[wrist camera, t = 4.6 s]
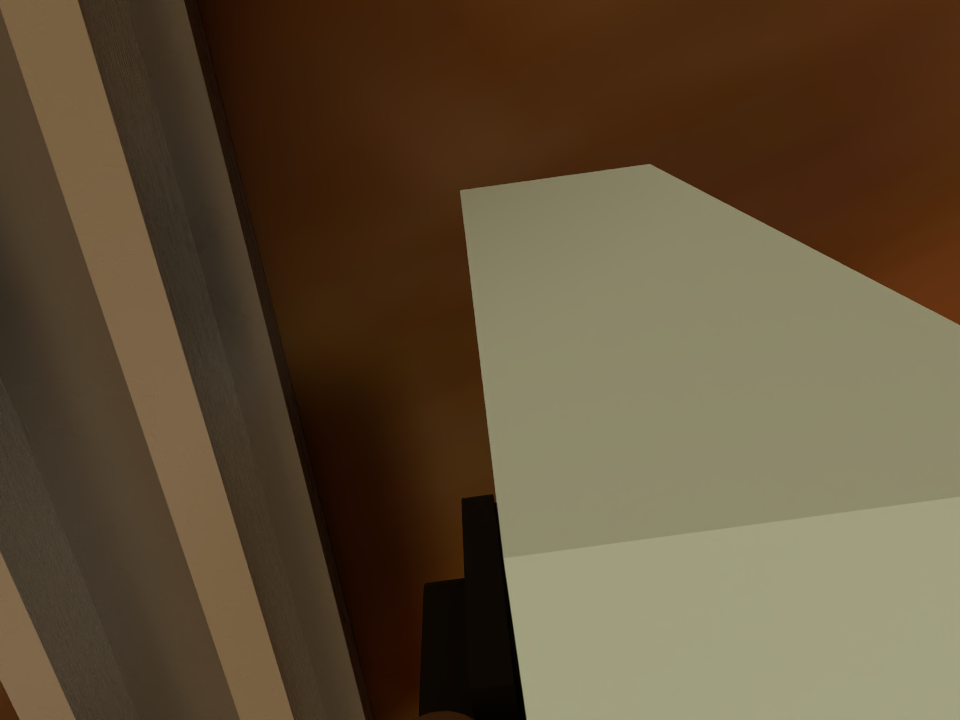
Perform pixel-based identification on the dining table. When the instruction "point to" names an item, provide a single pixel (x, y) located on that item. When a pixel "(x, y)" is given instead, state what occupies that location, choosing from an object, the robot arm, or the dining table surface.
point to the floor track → (147, 396)
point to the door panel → (712, 461)
